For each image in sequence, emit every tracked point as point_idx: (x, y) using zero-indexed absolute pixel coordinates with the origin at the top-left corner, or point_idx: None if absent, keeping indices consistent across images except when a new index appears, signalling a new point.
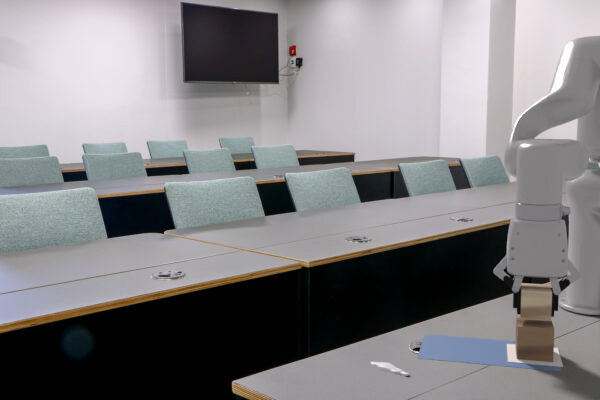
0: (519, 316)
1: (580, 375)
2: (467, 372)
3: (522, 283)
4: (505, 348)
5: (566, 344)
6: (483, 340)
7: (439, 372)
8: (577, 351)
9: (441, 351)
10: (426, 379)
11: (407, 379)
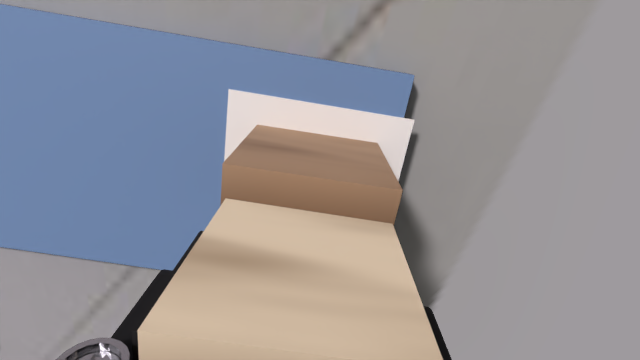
0: (239, 171)
1: (413, 273)
2: (114, 275)
3: (161, 341)
4: (220, 135)
5: (484, 3)
6: (138, 52)
7: (42, 280)
8: (492, 84)
9: (4, 182)
10: (20, 319)
11: None
